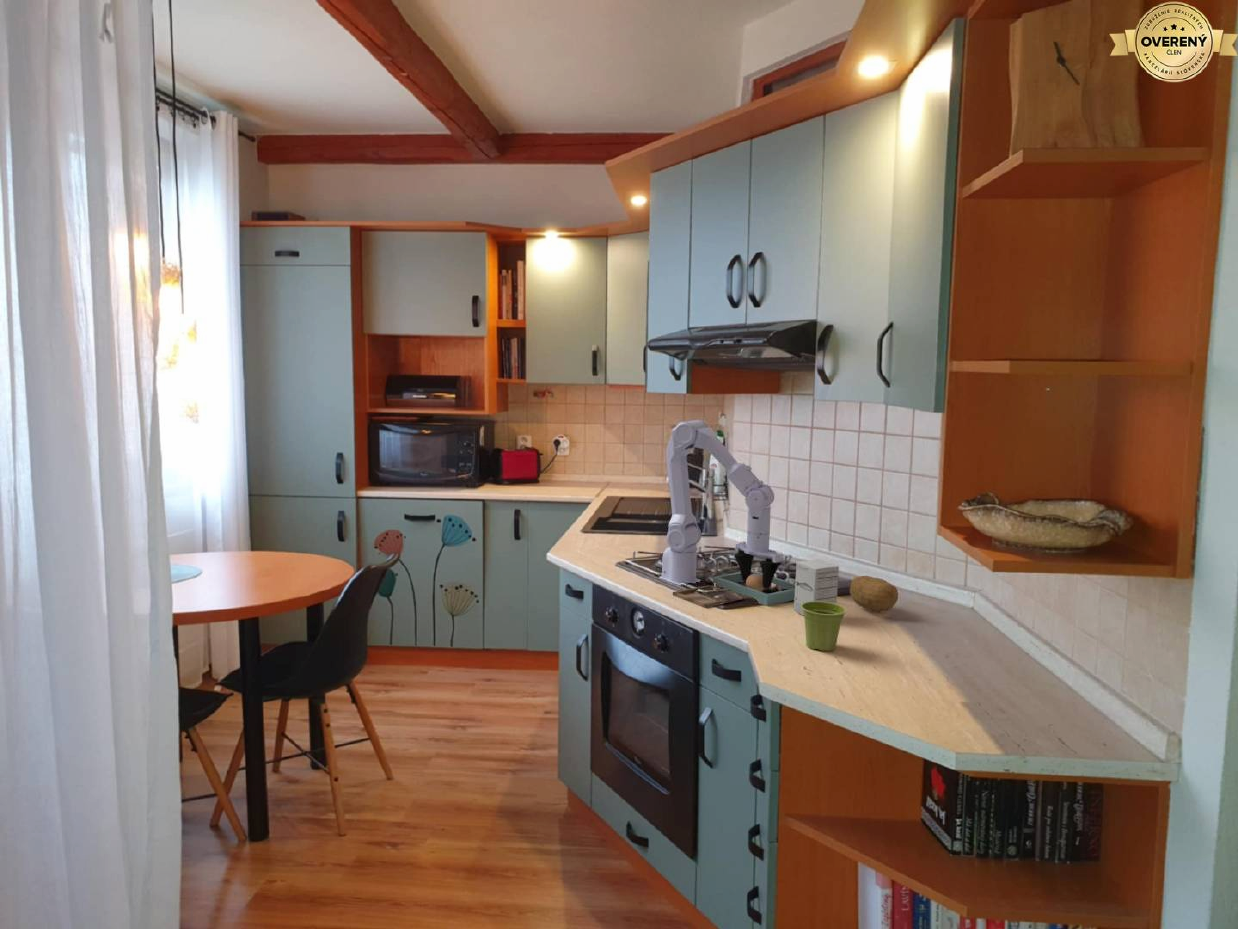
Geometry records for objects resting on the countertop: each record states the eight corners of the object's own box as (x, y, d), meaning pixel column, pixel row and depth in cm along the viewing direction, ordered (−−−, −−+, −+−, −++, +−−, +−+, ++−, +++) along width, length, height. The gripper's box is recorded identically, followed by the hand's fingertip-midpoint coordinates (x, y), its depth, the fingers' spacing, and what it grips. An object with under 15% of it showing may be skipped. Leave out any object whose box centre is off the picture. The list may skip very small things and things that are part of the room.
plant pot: (826, 637, 183) (828, 599, 181) (853, 651, 174) (855, 612, 173) (790, 641, 179) (792, 603, 178) (815, 656, 170) (817, 616, 169)
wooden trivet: (672, 596, 211) (672, 592, 210) (709, 589, 218) (709, 585, 218) (705, 609, 200) (705, 604, 200) (743, 601, 208) (743, 597, 208)
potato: (869, 600, 211) (871, 569, 210) (907, 616, 198) (909, 584, 197) (837, 603, 208) (839, 572, 207) (874, 620, 195) (876, 587, 194)
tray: (712, 587, 219) (713, 576, 219) (750, 580, 227) (751, 569, 227) (766, 607, 203) (767, 595, 203) (805, 598, 211) (806, 587, 211)
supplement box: (792, 612, 200) (795, 561, 199) (816, 608, 204) (819, 558, 202) (812, 621, 194) (815, 568, 192) (837, 617, 197) (840, 565, 195)
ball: (741, 592, 215) (742, 573, 215) (756, 589, 218) (756, 570, 217) (754, 596, 211) (755, 577, 211) (769, 593, 214) (769, 574, 213)
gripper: (727, 528, 216) (725, 579, 218) (767, 539, 204) (765, 592, 206) (747, 526, 220) (745, 575, 222) (787, 536, 209) (785, 588, 210)
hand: (756, 583), depth 214 cm, fingers open, 7 cm apart
